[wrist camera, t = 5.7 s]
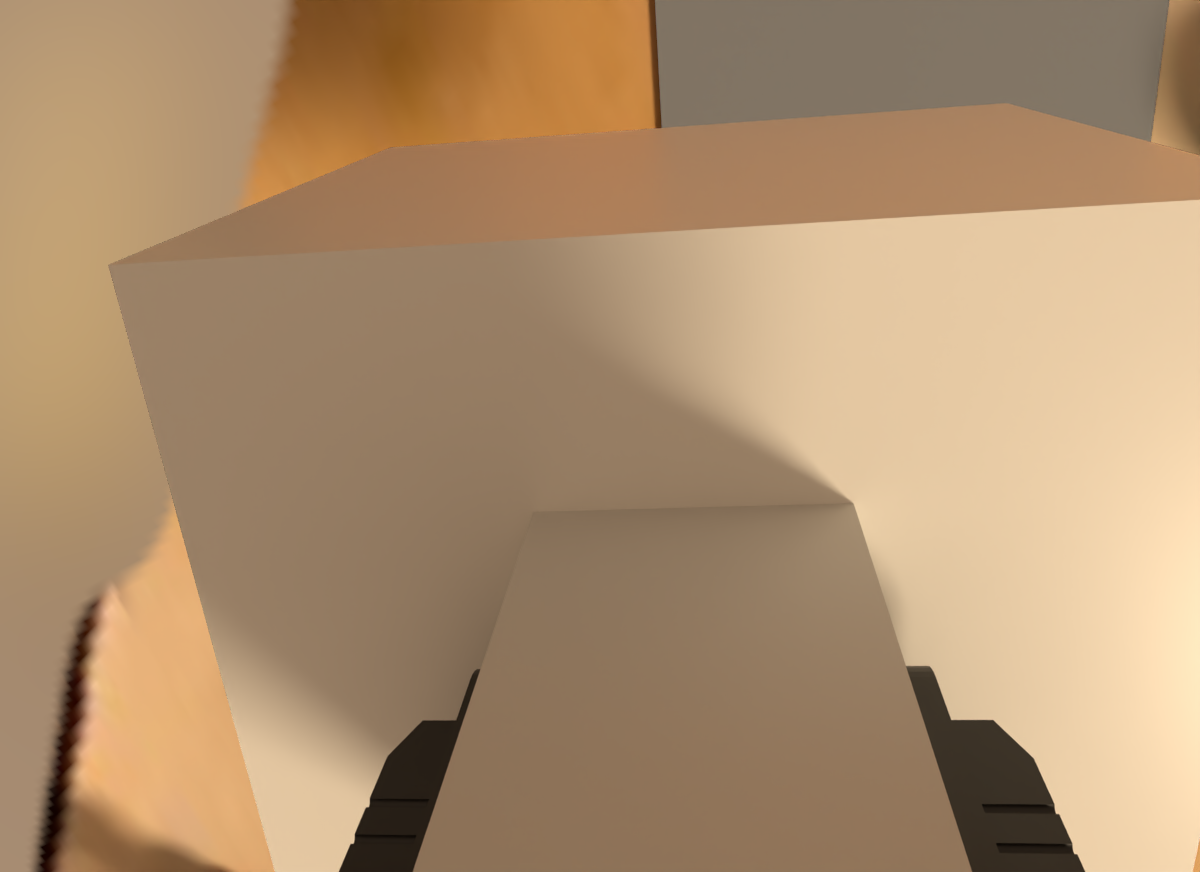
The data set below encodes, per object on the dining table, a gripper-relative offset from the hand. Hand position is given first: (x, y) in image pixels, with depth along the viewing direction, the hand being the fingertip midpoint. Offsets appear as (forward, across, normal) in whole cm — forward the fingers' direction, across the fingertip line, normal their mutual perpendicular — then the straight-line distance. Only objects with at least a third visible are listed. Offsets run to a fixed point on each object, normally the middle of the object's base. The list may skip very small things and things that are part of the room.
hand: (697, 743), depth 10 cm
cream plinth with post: (+9, 0, 0) cm, 9 cm away
